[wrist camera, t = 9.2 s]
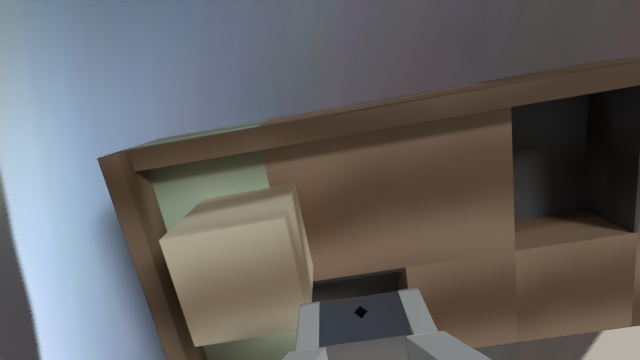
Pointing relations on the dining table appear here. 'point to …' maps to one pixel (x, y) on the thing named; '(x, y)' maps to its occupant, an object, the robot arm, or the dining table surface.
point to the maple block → (241, 265)
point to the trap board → (425, 204)
